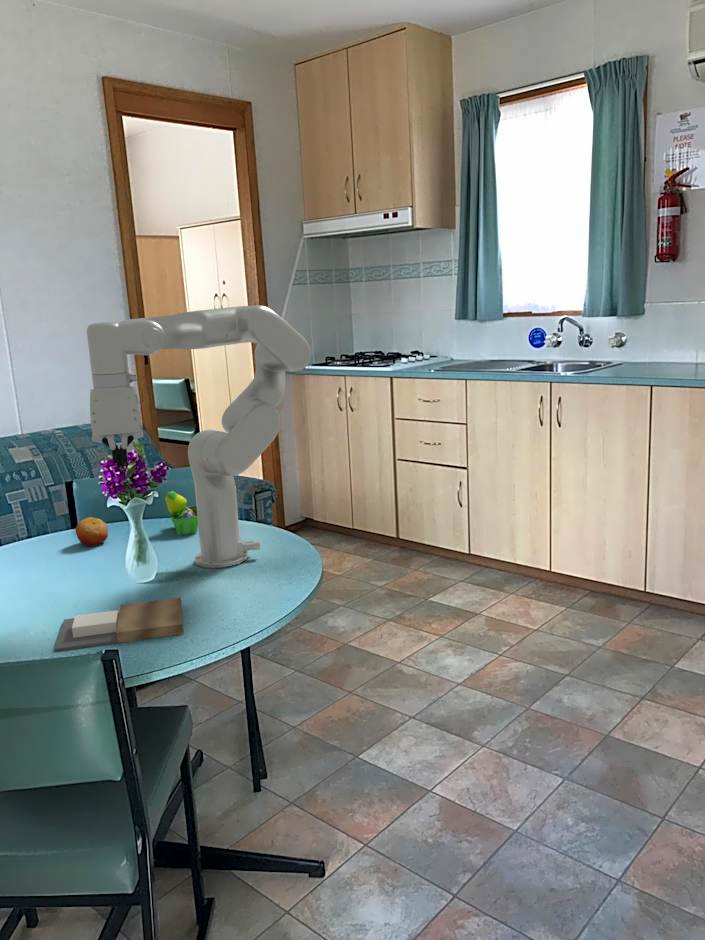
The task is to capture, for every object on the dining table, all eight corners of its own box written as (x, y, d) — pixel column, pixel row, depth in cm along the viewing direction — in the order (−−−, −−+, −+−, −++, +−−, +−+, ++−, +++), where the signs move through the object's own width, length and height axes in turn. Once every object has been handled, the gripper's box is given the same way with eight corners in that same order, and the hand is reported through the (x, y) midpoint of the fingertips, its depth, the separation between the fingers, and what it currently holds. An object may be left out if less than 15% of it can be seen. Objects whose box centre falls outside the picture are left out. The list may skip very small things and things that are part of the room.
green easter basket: (201, 534, 210) (198, 493, 208) (168, 537, 208) (164, 496, 206) (200, 522, 221) (197, 484, 219) (169, 526, 219) (165, 487, 217)
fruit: (91, 531, 212) (98, 509, 208) (109, 549, 209) (115, 527, 205) (65, 539, 206) (71, 516, 202) (83, 558, 203) (89, 535, 199)
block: (119, 619, 154) (117, 610, 153) (117, 631, 148) (116, 621, 147) (76, 625, 152) (75, 615, 151) (73, 637, 146) (71, 627, 146)
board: (181, 606, 160) (180, 597, 160) (183, 633, 147) (182, 623, 146) (121, 614, 157) (120, 605, 157) (117, 642, 144) (116, 632, 144)
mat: (121, 614, 157) (121, 612, 157) (117, 642, 144) (117, 640, 144) (64, 621, 155) (64, 619, 155) (54, 651, 142) (54, 648, 142)
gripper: (148, 377, 169) (156, 460, 173) (76, 382, 166) (86, 466, 170) (147, 380, 162) (156, 466, 166) (72, 386, 159) (83, 473, 163)
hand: (121, 466), depth 168 cm, fingers closed
